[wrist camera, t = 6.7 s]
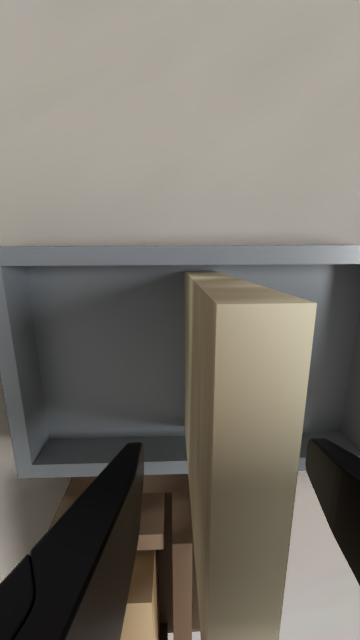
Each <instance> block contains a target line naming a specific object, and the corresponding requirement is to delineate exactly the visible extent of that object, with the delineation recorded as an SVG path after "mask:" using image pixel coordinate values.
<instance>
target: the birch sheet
mask: <svg viewBox="0 0 360 640" xmlns="http://www.w3.org/2000/svg"><path fill="white" fill-rule="evenodd" d="M316 309H317V303H315V302H312V301H309V300H305V299H302V298H299V297H296V296H293V295H289V294H286V293H283V292H280V291H277V290H274V289H270V288H267V287H264V286H261V285H258V284H254V283H251V282H248V281H245V280H242V279H239V278H235V277H232V276H229V275H226V274H223V273H220V272H216V271H184V310H185V439H186V452H187V464H188V477H189V490H190V503H191V516H192V529H193V542H194V555H195V568H196V581H197V594H198V607H199V619H200V632H201V640H279V632H280V623H281V615H282V606H283V597H284V588H285V580H286V571H287V562H288V553H289V545H290V536H291V527H292V518H293V510H294V501H295V492H296V483H297V475H298V466H299V457H300V448H301V440H302V431H303V422H304V414H305V405H306V396H307V387H308V379H309V370H310V361H311V352H312V344H313V335H314V326H315V317H316Z"/></svg>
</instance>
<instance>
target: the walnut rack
mask: <svg viewBox="0 0 360 640" xmlns="http://www.w3.org/2000/svg"><path fill="white" fill-rule="evenodd" d="M96 477H97V476H93V477H72V479H71V481H70V484H69V486H68V488H67V490H66V492H65V495H64V497H63V499H62V501H61V504H60V506H59V508H58V510H57V512H56V515H55V517H54V519H53V521H52V524H51V526H50V528H51V527H52V526H53V525H54V524H55V523H56V522H57V521H58V519H59V518H60V517H61V516H62V515H63V514H64V513H65V512H66V511H67V509H68V508H69V507H70V506H71V505H72V504H73V503H74V502H75V501H76V499H77V498H78V497H79V496H80V495H81V494H82V493H83V492H84V491H85V489H86V488H87V487H88V486H89V485H90V484H91V483H92V482H93V481H94V479H95V478H96ZM50 528H49V530H50ZM49 530H48V531H49ZM137 550H158V564H159V597H160V638H159V640H168V633H174V640H192V632H196V631H200V619H199V607H198V594H197V581H196V568H195V555H194V542H193V529H192V516H191V503H190V490H189V477H188V474H163V475H144V481H143V494H142V506H141V519H140V530H139V539H138V545H137Z"/></svg>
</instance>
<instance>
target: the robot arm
mask: <svg viewBox="0 0 360 640" xmlns="http://www.w3.org/2000/svg"><path fill="white" fill-rule="evenodd" d="M305 466H306V471H307V474H308V476H309V479H310V481H311V483H312V486H313V488H314V490H315V493H316V495H317V498H318V500H319V502H320V505H321V507H322V510H323V512H324V514H325V517H326V519H327V522H328V524H329V526H330V528H331V531H332V533H333V535H334V537H335V539H336V541H337V543H338V545H339V547H340V549H341V551H342V552H343V554H344V556H345V558H346V560H347V562H348V564H349V566H350V568H351V570H352V572H353V573H354V575H355V577H356V579H357V581H358V583H359V585H360V457H358V456H356V455H355V454H353V453H351V452H349V451H347V450H346V449H344V448H342V447H340V446H338V445H337V444H335V443H333V442H331V441H330V440H328V439H326V438H310V439H309V441H308V444H307V453H306V461H305ZM143 481H144V452H143V444H142V442H129V443H127V444H126V445H125V446H124V447H123V448H122V449H121V451H120V452H119V453H118V454H117V455H116V456H115V457H114V458H113V459H112V461H111V462H110V463H109V464H108V465H107V466H106V467H105V468H104V469H103V471H102V472H101V473H100V474H99V475H98V476H97V477H96V478H95V479H94V481H93V482H92V483H91V484H90V485H89V486H88V487H87V488H86V489H85V491H84V492H83V493H82V494H81V495H80V496H79V497H78V498H77V499H76V501H75V502H74V503H73V504H72V505H71V506H70V507H69V508H68V509H67V511H66V512H65V513H64V514H63V515H62V516H61V517H60V518H59V519H58V521H57V522H56V523H55V524H54V525H53V526H52V527H51V528H50V530H49V531H48V532H47V533H46V534H45V535H44V536H43V537H42V538H41V540H40V541H39V542H38V543H37V544H36V545H35V546H34V547H33V548H32V550H31V551H30V555H29V554H28V555H26V556H25V557H24V558H23V559H22V560H21V562H20V563H19V564H18V565H17V566H16V567H15V568H14V569H13V570H12V572H11V573H10V574H9V575H8V576H7V577H6V578H5V579H4V580H3V581H2V582H1V583H0V640H120V638H121V633H122V627H123V622H124V617H125V611H126V606H127V600H128V595H129V590H130V584H131V579H132V573H133V568H134V562H135V557H136V552H137V545H138V539H139V530H140V519H141V506H142V494H143Z"/></svg>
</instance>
